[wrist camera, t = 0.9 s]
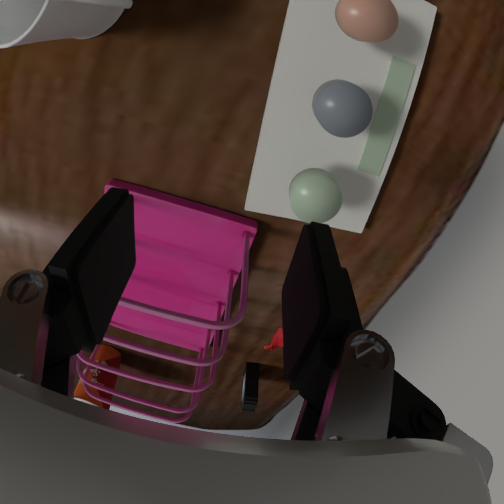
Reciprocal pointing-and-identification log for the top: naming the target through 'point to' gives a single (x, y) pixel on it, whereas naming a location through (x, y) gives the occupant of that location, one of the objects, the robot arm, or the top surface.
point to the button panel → (307, 126)
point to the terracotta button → (367, 19)
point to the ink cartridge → (250, 388)
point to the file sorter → (178, 288)
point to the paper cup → (100, 377)
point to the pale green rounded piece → (315, 195)
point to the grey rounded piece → (342, 108)
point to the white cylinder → (56, 19)
